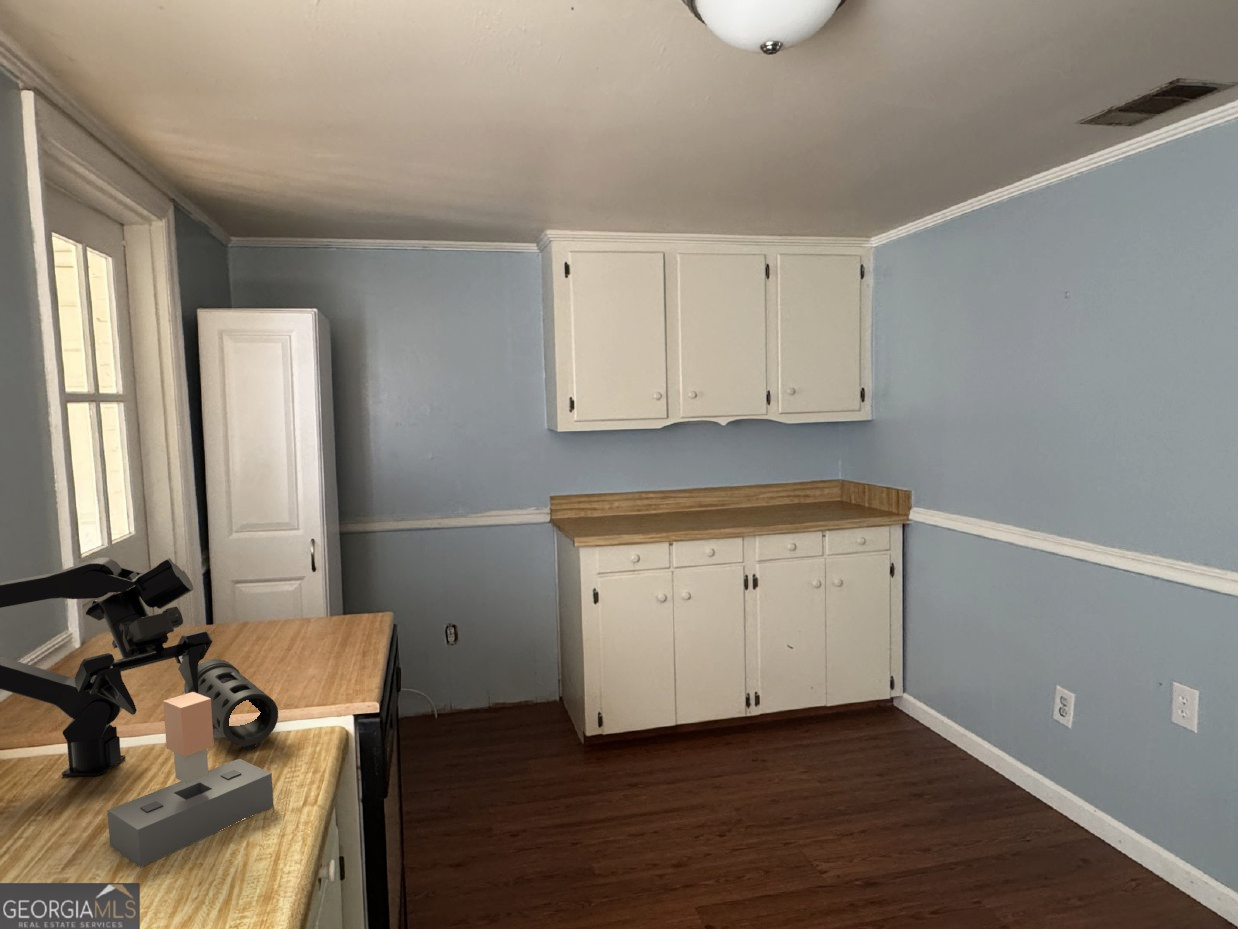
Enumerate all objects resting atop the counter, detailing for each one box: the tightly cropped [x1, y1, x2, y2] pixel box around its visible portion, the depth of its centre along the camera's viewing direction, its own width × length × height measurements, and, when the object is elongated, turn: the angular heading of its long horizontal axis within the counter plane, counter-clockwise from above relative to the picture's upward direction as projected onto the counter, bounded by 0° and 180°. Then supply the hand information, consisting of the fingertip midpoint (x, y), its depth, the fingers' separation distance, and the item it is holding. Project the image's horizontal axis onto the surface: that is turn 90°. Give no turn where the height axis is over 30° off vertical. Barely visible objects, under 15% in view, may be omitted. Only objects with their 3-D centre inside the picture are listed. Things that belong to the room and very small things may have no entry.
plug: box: [162, 692, 215, 784], centre depth 107 cm, size 5×4×11 cm
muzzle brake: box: [183, 658, 279, 751], centre depth 142 cm, size 10×28×10 cm, turn 42°
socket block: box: [107, 758, 274, 869], centre depth 107 cm, size 9×18×5 cm, turn 145°
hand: (166, 703), depth 120 cm, fingers open, 9 cm apart
